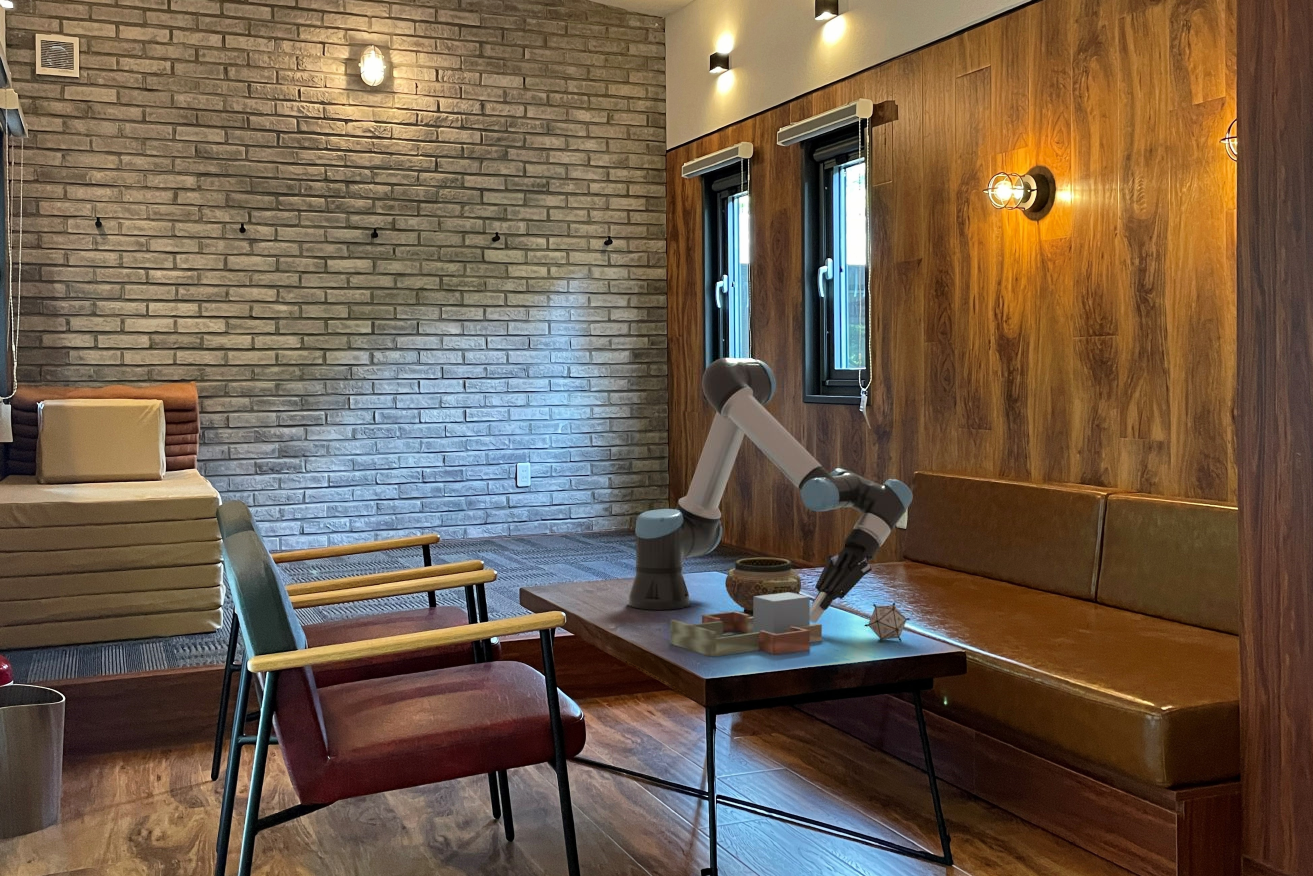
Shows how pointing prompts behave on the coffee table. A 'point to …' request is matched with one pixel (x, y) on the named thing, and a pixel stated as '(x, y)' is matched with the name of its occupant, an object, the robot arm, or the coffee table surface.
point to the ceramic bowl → (760, 580)
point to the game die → (887, 622)
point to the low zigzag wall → (740, 636)
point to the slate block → (780, 612)
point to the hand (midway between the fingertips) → (810, 618)
